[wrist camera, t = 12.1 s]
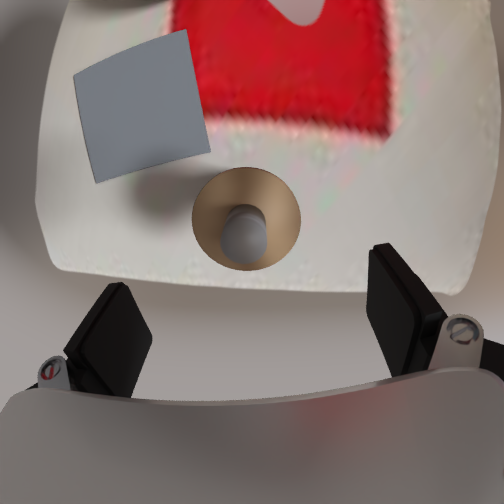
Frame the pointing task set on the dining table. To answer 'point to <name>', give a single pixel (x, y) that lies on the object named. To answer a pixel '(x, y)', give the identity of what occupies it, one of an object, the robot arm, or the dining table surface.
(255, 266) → the lid
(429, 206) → the dining table surface
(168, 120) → the mat
